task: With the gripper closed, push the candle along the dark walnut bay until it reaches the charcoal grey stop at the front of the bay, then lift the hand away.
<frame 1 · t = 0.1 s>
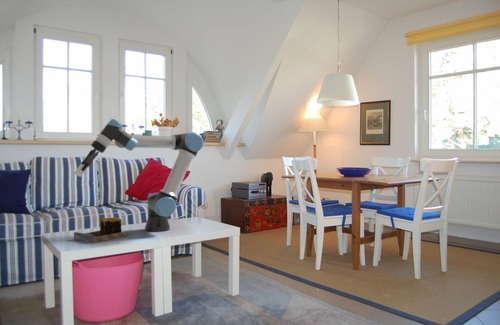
hand: (76, 175, 214), 36 cm above the table, tool tilted 35°, fingers open, 13 cm apart
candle: (110, 236, 229), on the table
bay: (101, 237, 224), on the table
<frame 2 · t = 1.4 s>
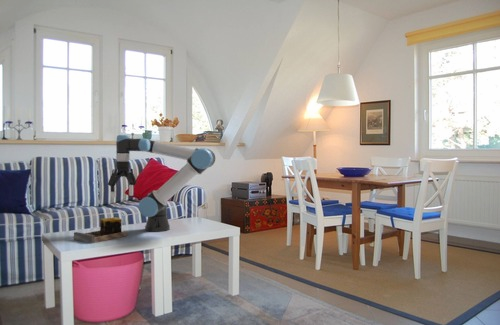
hand: (122, 196, 237), 22 cm above the table, tool pointing down, fingers open, 13 cm apart
nothing on the table moved.
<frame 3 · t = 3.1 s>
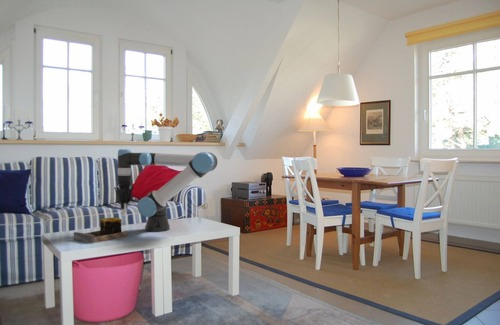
hand: (124, 214, 238), 11 cm above the table, tool pointing down, fingers closed
nothing on the table moved.
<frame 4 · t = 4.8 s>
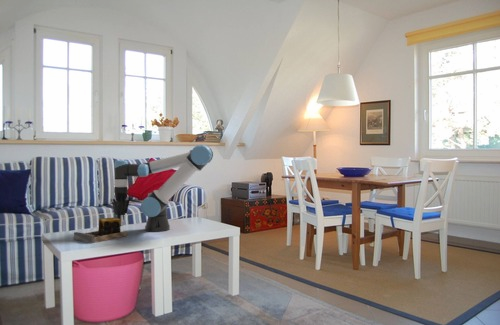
hand: (120, 225, 236), 5 cm above the table, tool pointing down, fingers closed
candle: (109, 236, 229), on the table, touching gripper
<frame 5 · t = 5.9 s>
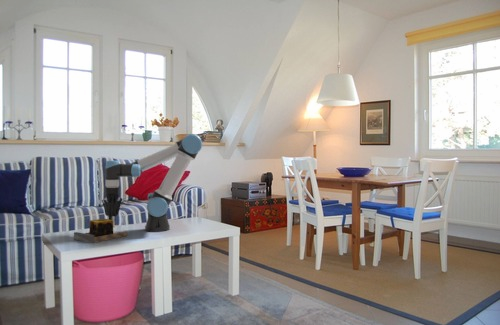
hand: (111, 227, 231), 5 cm above the table, tool pointing down, fingers closed
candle: (101, 238, 224), on the table, touching gripper
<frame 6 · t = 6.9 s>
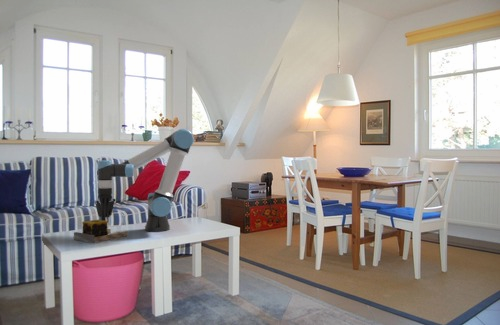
hand: (105, 228, 227), 5 cm above the table, tool pointing down, fingers closed
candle: (95, 239, 220), on the table, touching bay, gripper
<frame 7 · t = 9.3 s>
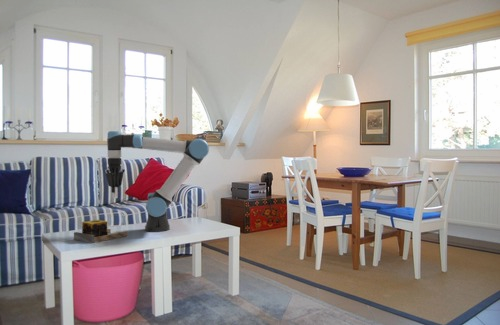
hand: (115, 198, 231), 22 cm above the table, tool pointing down, fingers closed
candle: (94, 239, 220), on the table
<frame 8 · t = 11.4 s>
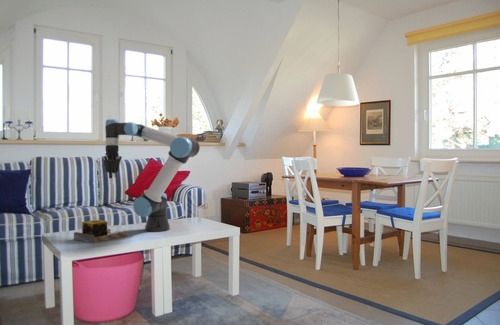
hand: (112, 183, 242), 29 cm above the table, tool pointing down, fingers closed
nothing on the table moved.
at the end: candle 0.7 cm from the target spot, on the table; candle tilted 0°; the gripper is holding nothing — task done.
